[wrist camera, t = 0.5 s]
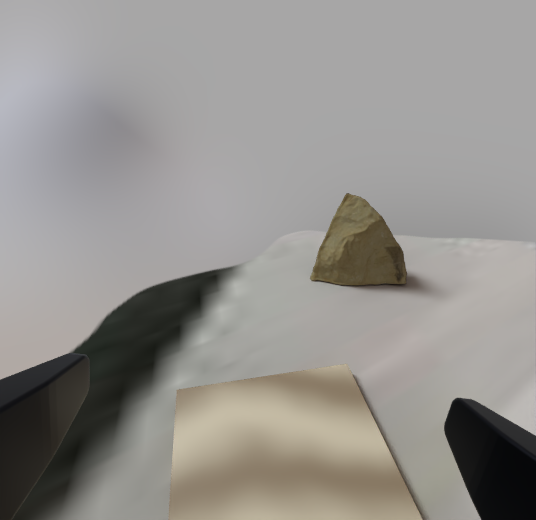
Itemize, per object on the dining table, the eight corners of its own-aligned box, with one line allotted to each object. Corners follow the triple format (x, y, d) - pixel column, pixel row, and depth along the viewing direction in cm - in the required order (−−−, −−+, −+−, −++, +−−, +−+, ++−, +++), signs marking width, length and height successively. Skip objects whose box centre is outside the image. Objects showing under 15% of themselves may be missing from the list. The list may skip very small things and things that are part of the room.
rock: (425, 254, 40) (354, 222, 45) (435, 220, 33) (348, 185, 37) (380, 327, 38) (310, 286, 43) (379, 309, 31) (295, 261, 36)
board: (480, 660, 15) (488, 655, 14) (157, 763, 12) (152, 763, 12) (345, 371, 28) (347, 363, 27) (178, 397, 26) (176, 389, 25)
